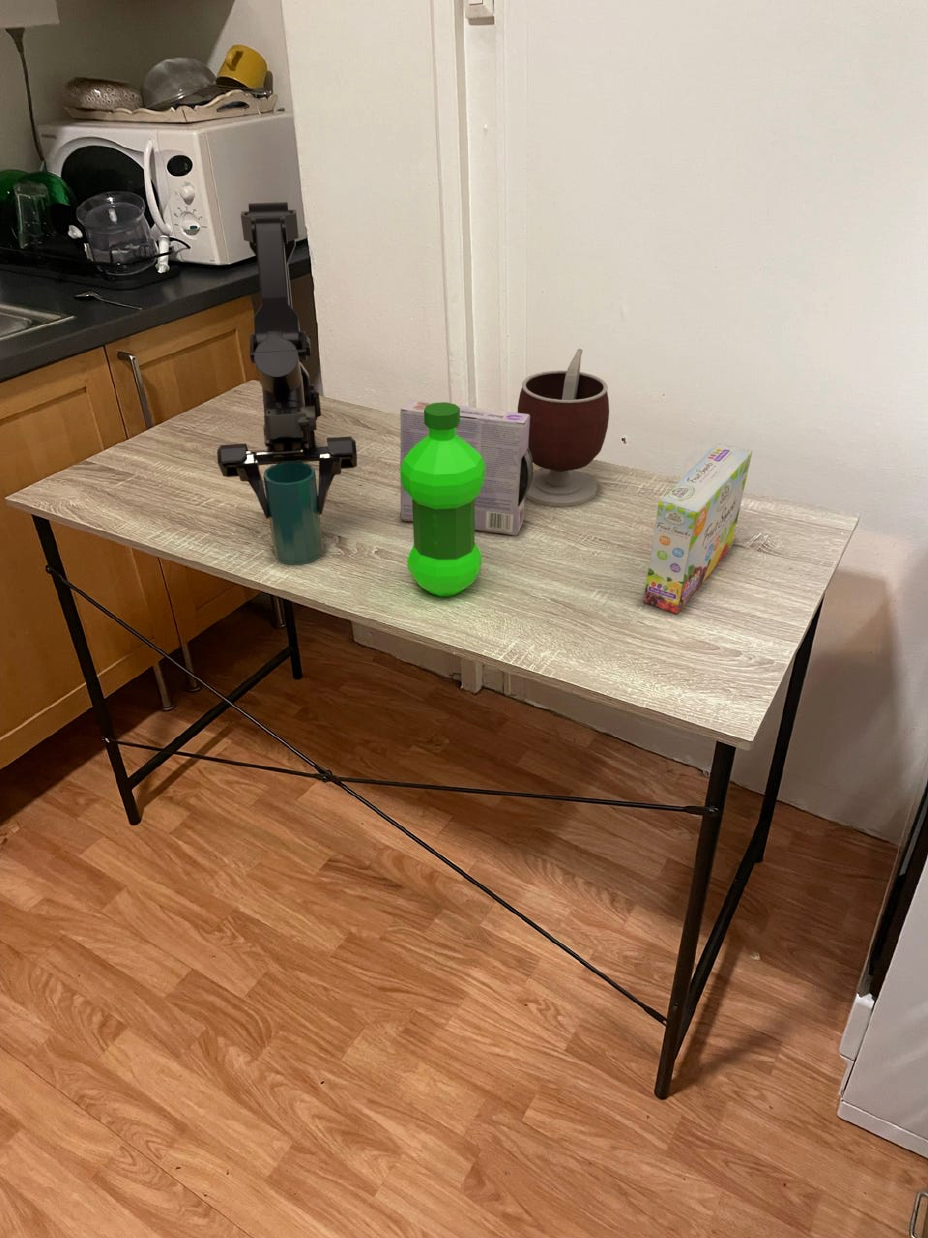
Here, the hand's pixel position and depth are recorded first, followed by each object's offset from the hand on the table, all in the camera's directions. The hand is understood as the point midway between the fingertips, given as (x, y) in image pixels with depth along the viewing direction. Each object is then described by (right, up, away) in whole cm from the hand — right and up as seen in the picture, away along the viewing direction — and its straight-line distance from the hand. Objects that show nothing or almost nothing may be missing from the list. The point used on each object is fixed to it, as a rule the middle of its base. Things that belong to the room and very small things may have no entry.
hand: (293, 515), depth 126 cm
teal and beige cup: (0, -5, +5) cm, 7 cm away
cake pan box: (+24, 0, +12) cm, 27 cm away
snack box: (+54, -8, 0) cm, 55 cm away
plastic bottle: (+21, -10, -2) cm, 23 cm away
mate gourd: (+39, +7, +22) cm, 45 cm away
